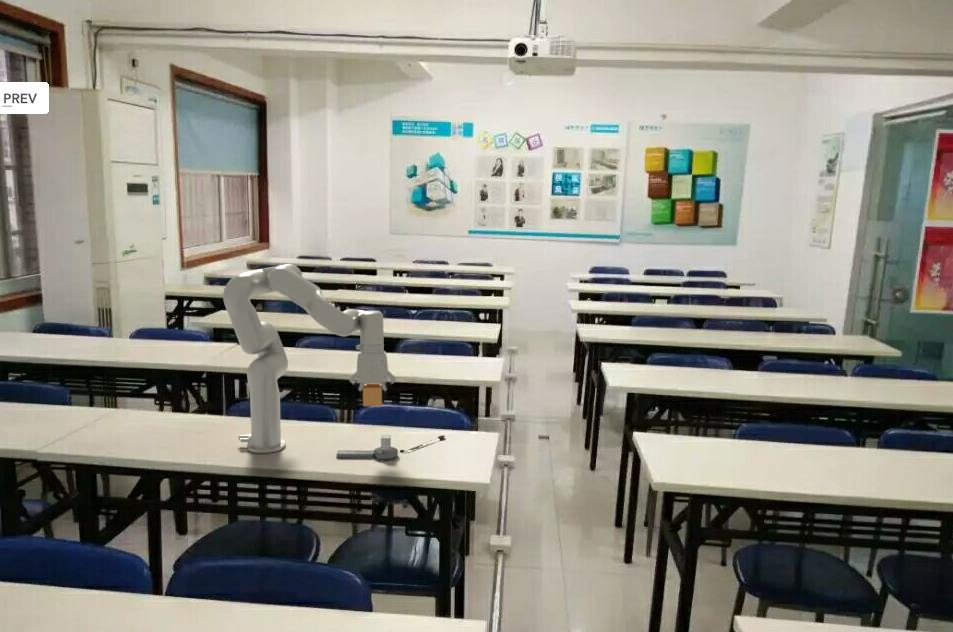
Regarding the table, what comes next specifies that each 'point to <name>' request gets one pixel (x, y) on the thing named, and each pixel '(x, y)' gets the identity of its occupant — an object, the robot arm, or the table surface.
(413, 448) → the tomahawk
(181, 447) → the table surface
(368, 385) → the socket
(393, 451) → the ratchet
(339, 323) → the robot arm
